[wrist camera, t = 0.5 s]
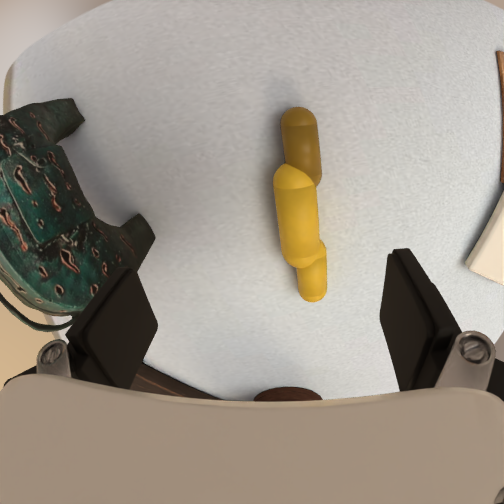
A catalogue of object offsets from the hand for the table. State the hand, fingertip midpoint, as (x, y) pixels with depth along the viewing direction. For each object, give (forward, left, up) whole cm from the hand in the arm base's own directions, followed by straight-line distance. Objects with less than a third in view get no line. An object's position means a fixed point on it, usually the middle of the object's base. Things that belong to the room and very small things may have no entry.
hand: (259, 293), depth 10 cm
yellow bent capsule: (+3, +1, -16) cm, 16 cm away
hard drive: (+6, +26, -16) cm, 31 cm away
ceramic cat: (-4, -17, -16) cm, 24 cm away
